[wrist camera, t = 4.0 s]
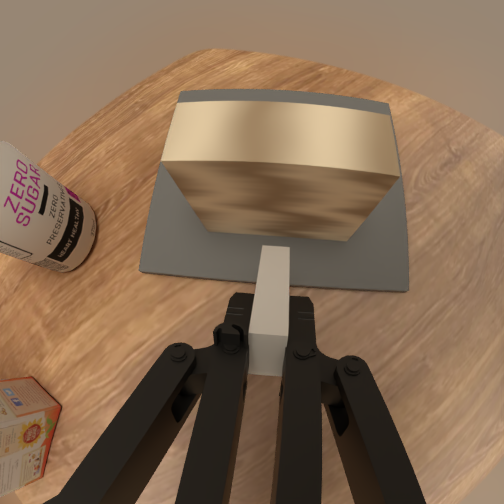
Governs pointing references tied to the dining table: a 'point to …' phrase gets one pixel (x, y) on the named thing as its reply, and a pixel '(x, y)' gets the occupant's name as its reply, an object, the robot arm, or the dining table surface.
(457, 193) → the dining table surface
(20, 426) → the cracker box
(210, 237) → the mat
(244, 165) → the wooden block
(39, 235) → the supplement can
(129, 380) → the dining table surface
